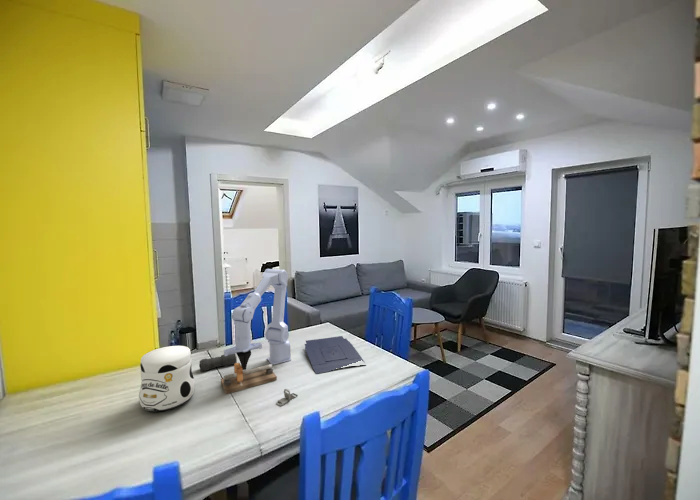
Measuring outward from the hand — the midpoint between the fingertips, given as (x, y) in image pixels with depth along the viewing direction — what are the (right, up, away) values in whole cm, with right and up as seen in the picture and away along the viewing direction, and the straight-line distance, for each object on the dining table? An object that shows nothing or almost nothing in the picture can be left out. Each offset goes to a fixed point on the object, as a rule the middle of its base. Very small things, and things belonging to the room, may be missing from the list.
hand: (243, 368), depth 122 cm
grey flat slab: (+35, -5, +26) cm, 43 cm away
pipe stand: (+2, -6, +2) cm, 6 cm away
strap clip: (+20, -7, -11) cm, 24 cm away
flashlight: (-16, -5, +14) cm, 23 cm away
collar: (-2, -4, -1) cm, 4 cm away
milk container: (-23, -7, -13) cm, 27 cm away
